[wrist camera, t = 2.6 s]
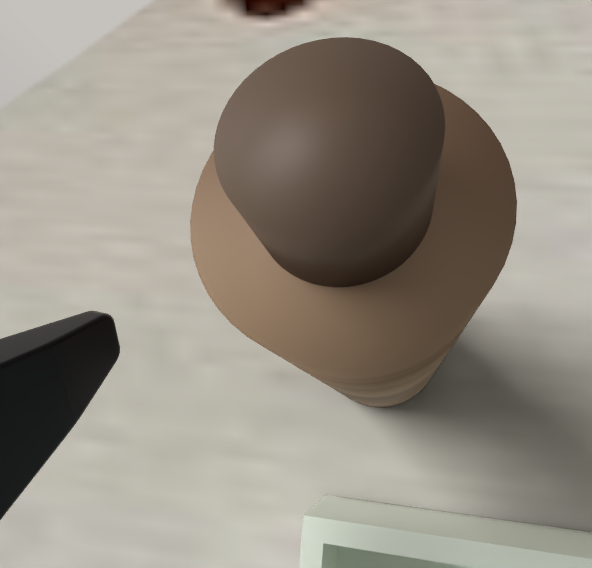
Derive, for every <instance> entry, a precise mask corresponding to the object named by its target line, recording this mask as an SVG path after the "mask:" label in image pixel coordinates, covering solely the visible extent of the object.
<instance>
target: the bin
mask: <svg viewBox="0 0 592 568" xmlns="http://www.w3.org/2000/svg"><path fill="white" fill-rule="evenodd" d="M299 568H592V532H586V531H579V530H572V529H564V528H557V527H550V526H543V525H536V524H529V523H521V522H514V521H507V520H500V519H493V518H486V517H479V516H471V515H464V514H457V513H450V512H443V511H436V510H428V509H421V508H414V507H407V506H400V505H393V504H385V503H378V502H371V501H364V500H357V499H350V498H342V497H335V496H328V495H325V496H324V497H323V498H321V499H320V500H319V501H318V502H317V503H316V504H315V505H314V506H313V507H312V508H311V509H310V510H309V511H308V512H306V513H305V514H304V515H303V526H302V538H301V550H300V562H299Z"/></svg>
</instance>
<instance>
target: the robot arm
mask: <svg viewBox="0 0 592 568" xmlns="http://www.w3.org/2000/svg"><path fill="white" fill-rule="evenodd" d="M119 353H120V345H119V341H118V336H117V332H116V327H115V323H114V320H113V318H112V317H111V315H109V314H106V313H101V312H97V311H88V312H85V313H81V314H78V315H75V316H72V317H69V318H66V319H62V320H59V321H56V322H53V323H50V324H47V325H43V326H40V327H37V328H34V329H31V330H27V331H24V332H21V333H18V334H15V335H12V336H8V337H5V338H2V339H0V520H1V519H2V517H3V516H4V515H5V513H6V512H7V511H8V510H9V508H10V507H11V506H12V505H13V503H14V502H15V501H16V499H17V498H18V497H19V496H20V494H21V493H22V492H23V491H24V489H25V488H26V487H27V485H28V484H29V483H30V482H31V480H32V479H33V478H34V477H35V475H36V474H37V473H38V471H39V470H40V469H41V468H42V466H43V465H44V464H45V462H46V461H47V460H48V459H49V457H50V456H51V455H52V454H53V452H54V451H55V450H56V448H57V447H58V446H59V445H60V443H61V442H62V441H63V440H64V438H65V437H66V436H67V434H68V433H69V432H70V430H71V429H72V428H73V426H74V425H75V424H76V422H77V421H78V419H79V418H80V417H81V415H82V414H83V412H84V411H85V409H86V407H87V406H88V404H89V403H90V401H91V400H92V398H93V397H94V395H95V393H96V392H97V390H98V389H99V387H100V386H101V384H102V383H103V381H104V379H105V378H106V376H107V375H108V373H109V372H110V370H111V369H112V367H113V365H114V364H115V362H116V361H117V359H118V356H119Z"/></svg>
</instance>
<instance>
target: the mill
mask: <svg viewBox="0 0 592 568" xmlns="http://www.w3.org/2000/svg"><path fill="white" fill-rule="evenodd" d="M516 209H517V199H516V191H515V183H514V178H513V175H512V171H511V168H510V164H509V161H508V159H507V157H506V154H505V152H504V150H503V148H502V146H501V143H500V142H499V140H498V139H497V137H496V136H495V134H494V133H493V131H492V130H491V128H490V127H489V126H488V125H487V123H486V122H485V121H484V120H483V119H482V118H481V117H480V116H479V114H478V113H477V112H476V111H475V110H473V109H472V108H471V107H470V106H469V105H467V104H466V103H465V102H464V101H463V100H461V99H460V98H458V97H457V96H455V95H454V94H452V93H451V92H449V91H447V90H446V89H444V88H442V87H440V86H438V85H435V84H434V83H433V81H432V80H431V78H430V77H429V75H428V74H427V73H426V72H425V71H424V70H423V69H422V67H421V66H420V65H418V64H417V63H416V62H415V61H414V60H413V59H411V58H410V57H409V56H407V55H405V54H404V53H402V52H401V51H399V50H397V49H395V48H392V47H390V46H388V45H385V44H382V43H379V42H376V41H372V40H366V39H361V38H348V37H344V38H328V39H322V40H316V41H312V42H308V43H304V44H301V45H299V46H296V47H293V48H291V49H288V50H286V51H284V52H282V53H280V54H278V55H276V56H275V57H273V58H271V59H270V60H268V61H266V62H265V63H264V64H262V65H261V66H260V67H258V68H257V69H256V70H255V71H254V72H252V73H251V74H250V75H249V76H248V77H247V78H246V79H245V80H244V81H243V82H242V83H241V85H240V86H239V87H238V88H237V89H236V91H235V92H234V94H233V95H232V96H231V98H230V99H229V101H228V103H227V105H226V107H225V108H224V110H223V112H222V115H221V118H220V120H219V123H218V126H217V130H216V135H215V142H214V151H213V152H212V154H211V156H210V158H209V159H208V161H207V163H206V165H205V167H204V169H203V171H202V174H201V177H200V179H199V182H198V184H197V187H196V191H195V196H194V200H193V204H192V212H191V221H190V225H191V244H192V250H193V257H194V261H195V264H196V267H197V270H198V273H199V276H200V278H201V281H202V283H203V285H204V287H205V289H206V291H207V293H208V295H209V296H210V298H211V299H212V301H213V302H214V304H215V305H216V306H217V308H218V309H219V310H220V312H221V313H222V314H223V315H224V316H225V317H226V318H227V319H228V320H229V322H230V323H231V324H233V325H234V326H235V327H236V328H237V329H239V330H240V331H241V332H242V333H243V334H245V335H246V336H247V337H249V338H250V339H252V340H253V341H255V342H257V343H258V344H260V345H262V346H263V347H265V348H266V349H268V350H270V351H271V352H273V353H275V354H276V355H278V356H280V357H281V358H283V359H285V360H286V361H288V362H290V363H291V364H293V365H295V366H296V367H298V368H300V369H301V370H303V371H305V372H306V373H308V374H310V375H311V376H313V377H315V378H316V379H318V380H320V381H321V382H323V383H325V384H326V385H328V386H330V387H331V388H333V389H335V390H336V391H338V392H340V393H341V394H343V395H345V396H346V397H348V398H350V399H351V400H353V401H356V402H358V403H360V404H364V405H367V406H373V407H388V406H393V405H397V404H400V403H403V402H405V401H407V400H409V399H411V398H413V397H414V396H415V395H417V394H418V393H419V392H420V391H421V390H422V389H423V388H424V387H425V386H426V384H427V383H428V382H429V380H430V379H431V377H432V376H433V374H434V373H435V371H436V370H437V368H438V367H439V365H440V364H441V362H442V361H443V359H444V358H445V356H446V355H447V353H448V352H449V350H450V349H451V347H452V346H453V344H454V343H455V341H456V340H457V339H458V337H459V336H460V334H461V333H462V331H463V330H464V328H465V327H466V325H467V324H468V322H469V321H470V319H471V318H472V316H473V315H474V313H475V312H476V310H477V309H478V307H479V306H480V304H481V303H482V301H483V300H484V298H485V297H486V295H487V294H488V292H489V291H490V289H491V288H492V286H493V285H494V283H495V281H496V279H497V277H498V276H499V274H500V272H501V270H502V268H503V266H504V264H505V262H506V259H507V256H508V253H509V250H510V248H511V245H512V241H513V235H514V230H515V225H516Z"/></svg>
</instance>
